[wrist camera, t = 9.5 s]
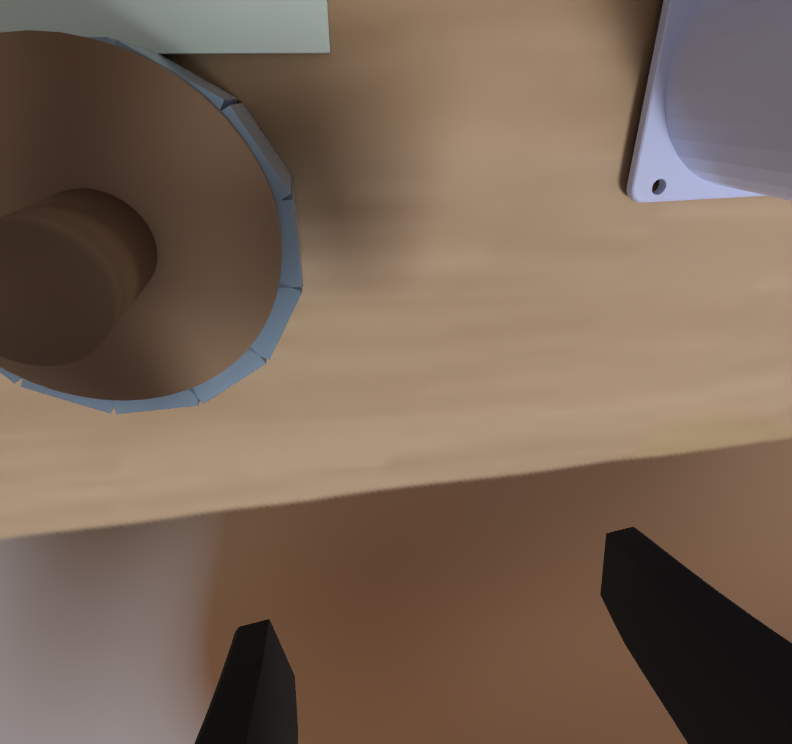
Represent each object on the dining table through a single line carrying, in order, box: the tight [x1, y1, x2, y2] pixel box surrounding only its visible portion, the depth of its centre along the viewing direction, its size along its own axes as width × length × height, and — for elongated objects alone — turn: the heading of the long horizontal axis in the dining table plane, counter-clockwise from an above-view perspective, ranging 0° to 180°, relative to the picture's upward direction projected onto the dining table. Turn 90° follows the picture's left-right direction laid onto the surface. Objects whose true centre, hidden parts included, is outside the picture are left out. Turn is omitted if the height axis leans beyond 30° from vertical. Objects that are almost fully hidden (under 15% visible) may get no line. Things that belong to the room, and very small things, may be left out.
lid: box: [0, 30, 282, 401], centre depth 11 cm, size 8×8×4 cm
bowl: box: [0, 37, 303, 414], centre depth 14 cm, size 9×9×4 cm
